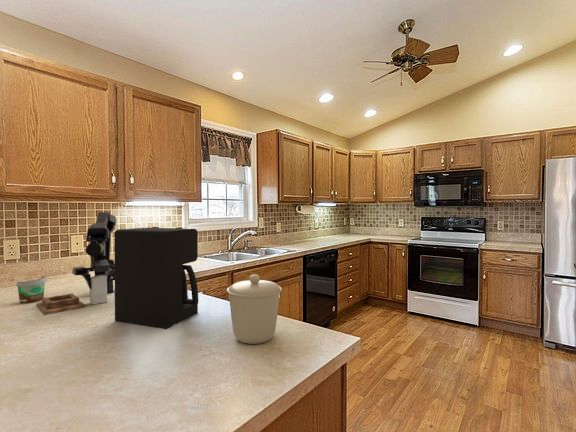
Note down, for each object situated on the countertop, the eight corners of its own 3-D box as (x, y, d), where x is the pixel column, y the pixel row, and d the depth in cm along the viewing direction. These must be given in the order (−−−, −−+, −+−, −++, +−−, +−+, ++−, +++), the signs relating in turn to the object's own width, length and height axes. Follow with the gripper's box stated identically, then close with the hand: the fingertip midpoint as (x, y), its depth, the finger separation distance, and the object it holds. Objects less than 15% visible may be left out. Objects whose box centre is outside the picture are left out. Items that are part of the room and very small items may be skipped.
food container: (27, 305, 138) (27, 282, 137) (16, 304, 139) (15, 281, 139) (53, 297, 150) (53, 276, 150) (43, 296, 151) (42, 276, 151)
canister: (259, 355, 91) (259, 283, 91) (214, 341, 101) (214, 276, 100) (291, 334, 106) (292, 272, 106) (250, 324, 116) (250, 267, 116)
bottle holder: (74, 298, 148) (74, 291, 148) (85, 306, 135) (85, 298, 135) (36, 305, 137) (36, 297, 137) (44, 314, 125) (44, 306, 125)
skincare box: (104, 300, 146) (103, 274, 145) (107, 302, 143) (107, 275, 143) (89, 303, 141) (88, 276, 141) (92, 305, 138) (92, 277, 138)
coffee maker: (207, 313, 127) (207, 228, 127) (175, 331, 109) (175, 231, 108) (152, 306, 137) (151, 226, 136) (114, 321, 118) (113, 229, 117)
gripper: (78, 257, 129) (79, 295, 129) (126, 253, 143) (126, 287, 143) (71, 254, 137) (72, 290, 137) (117, 250, 150) (118, 283, 151)
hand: (98, 287), depth 142 cm, fingers open, 6 cm apart
